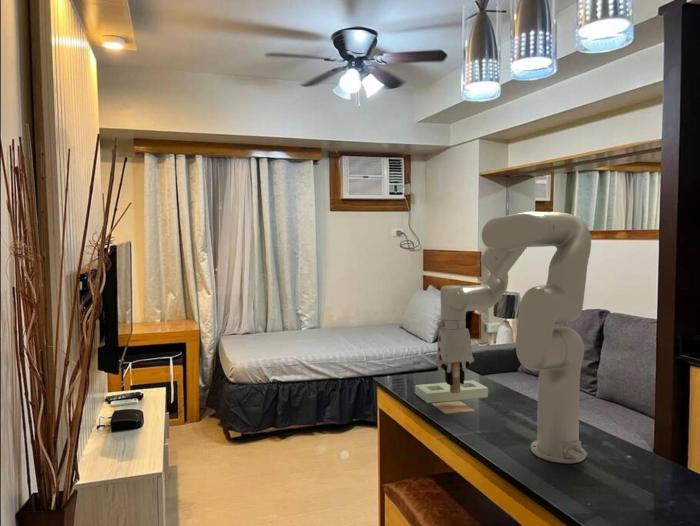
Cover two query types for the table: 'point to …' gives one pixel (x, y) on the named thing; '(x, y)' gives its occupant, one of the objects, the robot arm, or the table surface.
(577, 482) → the table surface
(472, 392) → the hole block
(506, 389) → the table surface
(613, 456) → the table surface
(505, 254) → the robot arm
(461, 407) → the cork mat
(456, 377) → the peg
